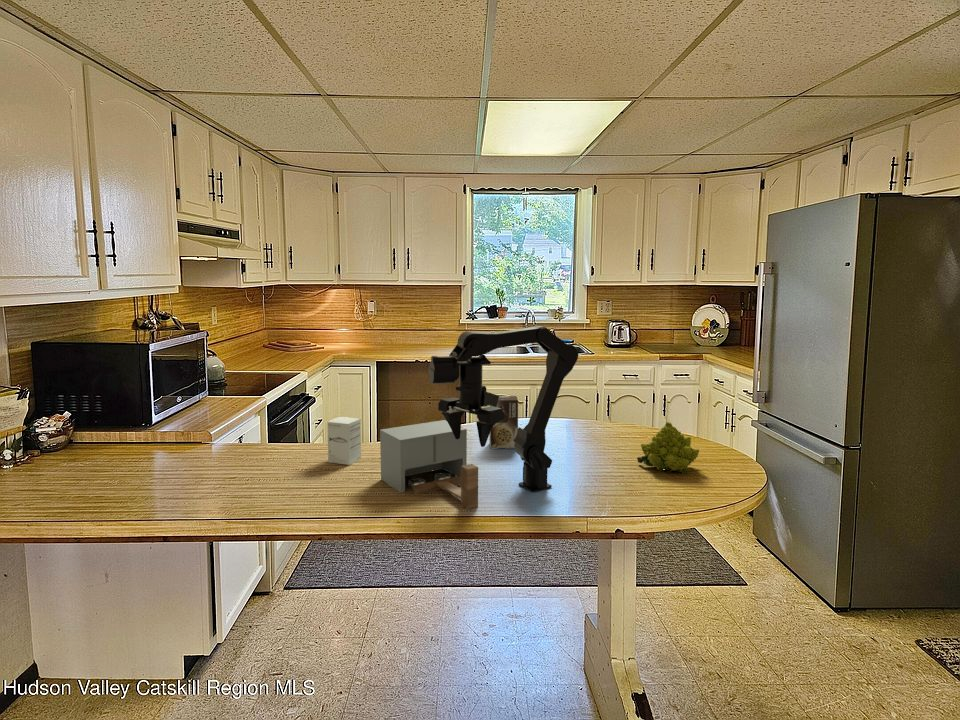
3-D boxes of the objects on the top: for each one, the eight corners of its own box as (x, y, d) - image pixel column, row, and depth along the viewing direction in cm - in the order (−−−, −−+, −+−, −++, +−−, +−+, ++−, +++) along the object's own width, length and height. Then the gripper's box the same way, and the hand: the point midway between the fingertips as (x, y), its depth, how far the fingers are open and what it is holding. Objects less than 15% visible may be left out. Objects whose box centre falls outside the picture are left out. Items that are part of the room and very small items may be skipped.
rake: (498, 501, 153) (498, 462, 151) (446, 514, 145) (445, 473, 143) (462, 482, 166) (462, 446, 165) (413, 493, 158) (412, 456, 157)
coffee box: (516, 443, 204) (517, 395, 202) (518, 448, 198) (519, 399, 195) (488, 443, 204) (489, 395, 201) (489, 449, 197) (490, 399, 195)
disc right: (454, 481, 168) (454, 476, 167) (440, 484, 165) (440, 479, 165) (445, 477, 171) (445, 471, 171) (431, 480, 169) (431, 474, 169)
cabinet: (466, 478, 169) (466, 429, 167) (401, 493, 158) (400, 440, 156) (444, 466, 179) (444, 419, 177) (381, 479, 168) (380, 429, 166)
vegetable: (623, 452, 182) (653, 410, 180) (656, 473, 189) (685, 433, 188) (653, 477, 168) (685, 432, 167) (687, 498, 176) (718, 455, 175)
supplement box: (327, 463, 182) (326, 421, 180) (340, 456, 189) (339, 415, 187) (349, 465, 180) (348, 423, 178) (362, 458, 187) (361, 417, 185)
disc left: (428, 487, 163) (428, 481, 163) (413, 490, 161) (413, 484, 161) (420, 482, 167) (420, 477, 167) (405, 485, 164) (405, 480, 164)
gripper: (520, 383, 153) (518, 444, 155) (468, 373, 166) (467, 430, 168) (488, 389, 145) (487, 453, 148) (436, 378, 158) (436, 437, 161)
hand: (470, 442), depth 156 cm, fingers open, 9 cm apart
